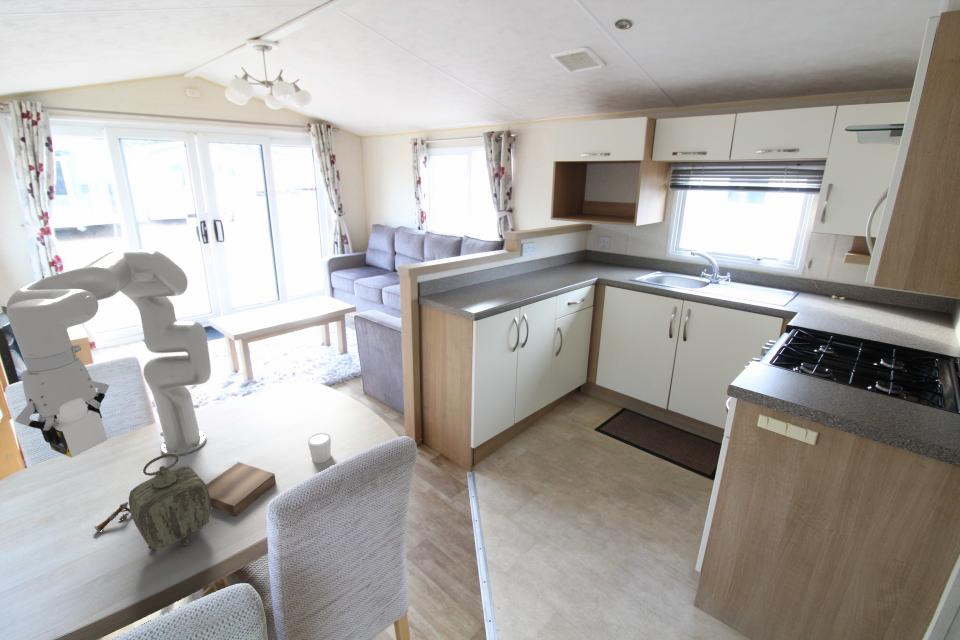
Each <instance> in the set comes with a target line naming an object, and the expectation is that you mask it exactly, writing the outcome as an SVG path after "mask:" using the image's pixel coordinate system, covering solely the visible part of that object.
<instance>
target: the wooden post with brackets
mask: <svg viewBox="0 0 960 640" xmlns="http://www.w3.org/2000/svg"><path fill="white" fill-rule="evenodd" d="M128 505H129V501H126V502H123V503H122V504H120V505H119V508H117V509H116V510H115V511H113V513H111V514H110V515H109V516H108V517H107V519H105V520H104V521H103V522H101V523H99V524H98V525H97V526H96V525H94V526H93V528H94V529H95V530H96V531H98V532H99V531H101V530H102V529H103V530H104V529H105V528H106V527H107V525H108V524H109V523H110V522H112V521H114V519H115V518H116V517H117V516H119V514H120V513H122V515H121V516H120V517H119V519H118V520H121V521H122V519H124V520H125V519H126V518H128V516H129V514H131V512H130V507H128ZM123 512H126V513H125V514H124V513H123ZM103 530H102V531H103Z"/></svg>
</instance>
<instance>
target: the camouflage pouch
mask: <svg viewBox="0 0 960 640" xmlns="http://www.w3.org/2000/svg"><path fill="white" fill-rule="evenodd" d="M178 456H179V455H178ZM178 456H177V455H175V454H162V455H160V456H157V457H155V458H153V459H152V460H150V461H148V462H147V463H146V465H145V466H144V467H143V470H142V471H143V474H144V475H145V476H154V477H152V478H150V479H147V480H146V481H144V482H141V483H140V484H138V485H136V486H134V488H133V489H131V490H130V491H129V496H128V505H129V506H128V508H129V509H130V512H131V513H130V516H131V518H132V520H133V523H134V525H135V527H136V528H137V530H138V532H139V533H140V535H141V536H142V538H143V539H144V541H145V543H146V544H147V546H148V549H149V550H155V549H161V548H165V547H168V546H170V545H172V544H174V543H176V542H177V541H180V540H181V541H180V546H181V547H187V545H188V544H189V540H188V539H187V538H186V537H188V536H190V535H191V534H193V533H195V532H196V531H198V530H200V529H202V528H203V527H204V526H206V524H208V523H209V521H210V518H211V514H212V507H211V501H210V495H209V492H208V489H207V487H206V483H205V482H204V480H203V479H202V478H201V477H200V476H199V474H197V472H195V470H194V469H193V468H192V467H191V466H190V465H186V466H185V465H184V466H179V467H175V468H173V467H174V466H176V464H177V463H178V461H179V457H178ZM168 457H173V458H175V461H174V462H173V463H172V464H170V465H168V466H167V467H165V466H164V465H162V466H161V465H160V467H159V468H158V469H159V470H158V471H155V472H147V471H146V470H147V468H149V466H150V465H151V464H153V463H155V462H157V461H159V460H161V459H164V458H168ZM172 468H173V469H172Z"/></svg>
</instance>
